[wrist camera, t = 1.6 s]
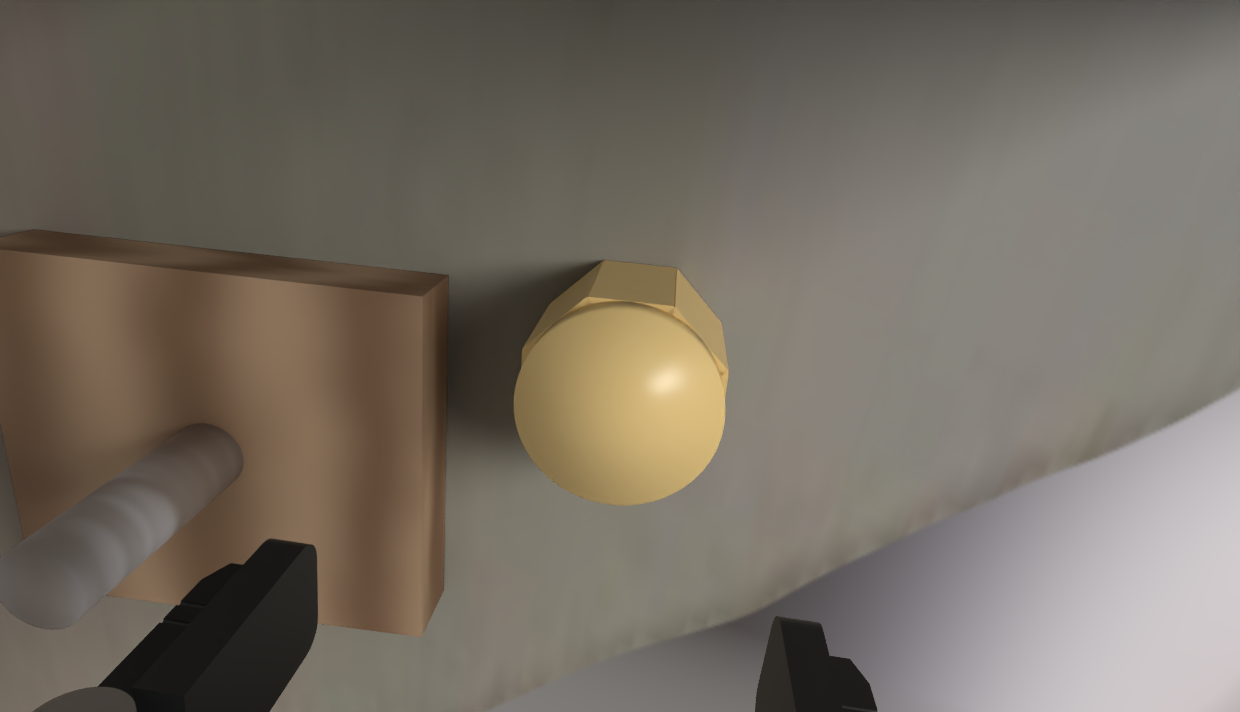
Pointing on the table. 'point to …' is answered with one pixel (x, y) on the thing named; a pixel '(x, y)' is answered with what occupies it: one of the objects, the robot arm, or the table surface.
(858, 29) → the table surface
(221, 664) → the robot arm
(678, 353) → the cap
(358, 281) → the bolt base
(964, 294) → the table surface
